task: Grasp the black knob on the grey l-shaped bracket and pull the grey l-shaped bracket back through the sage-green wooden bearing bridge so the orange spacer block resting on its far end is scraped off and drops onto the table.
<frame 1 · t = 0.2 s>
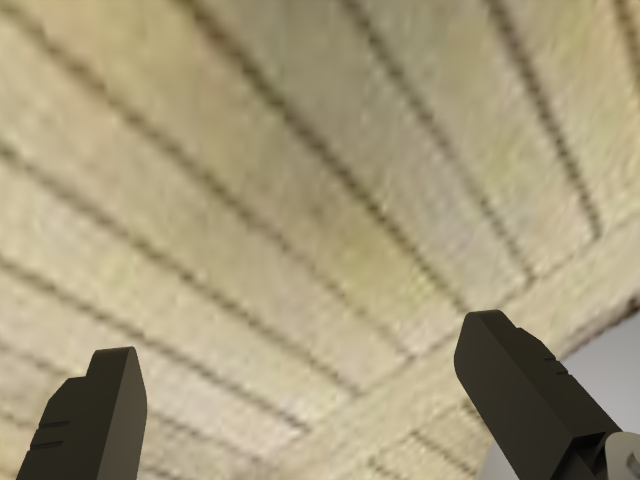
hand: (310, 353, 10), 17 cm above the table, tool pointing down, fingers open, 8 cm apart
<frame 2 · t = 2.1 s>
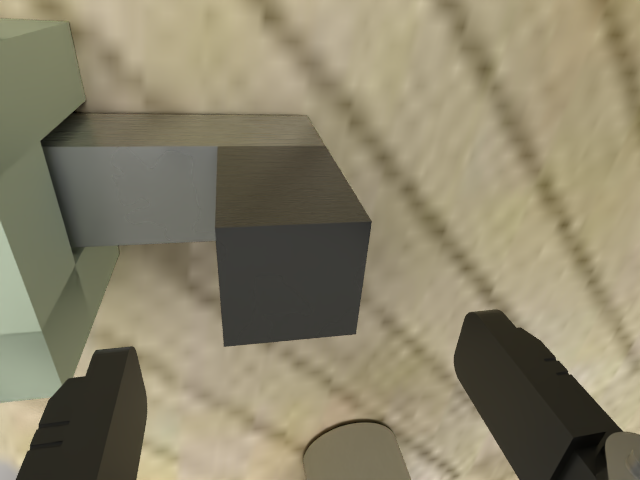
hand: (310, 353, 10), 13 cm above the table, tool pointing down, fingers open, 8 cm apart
travel mug: (348, 446, 36), on the table
grey l-shaped bracket: (7, 213, 14), point 6 cm above the table, slide at 0.0 cm, touching spacer
bearing bridge: (36, 154, 19), on the table
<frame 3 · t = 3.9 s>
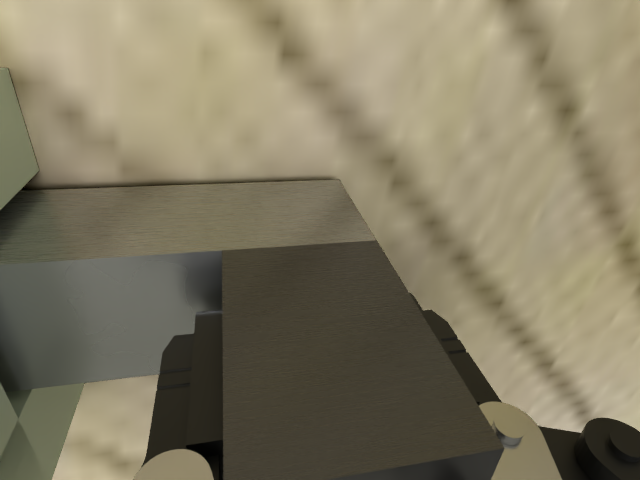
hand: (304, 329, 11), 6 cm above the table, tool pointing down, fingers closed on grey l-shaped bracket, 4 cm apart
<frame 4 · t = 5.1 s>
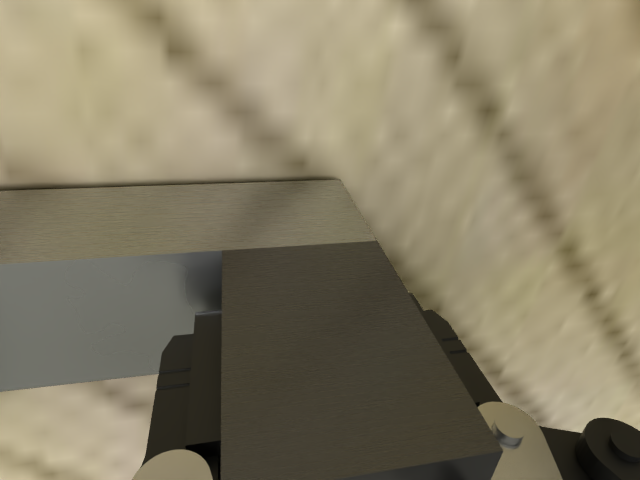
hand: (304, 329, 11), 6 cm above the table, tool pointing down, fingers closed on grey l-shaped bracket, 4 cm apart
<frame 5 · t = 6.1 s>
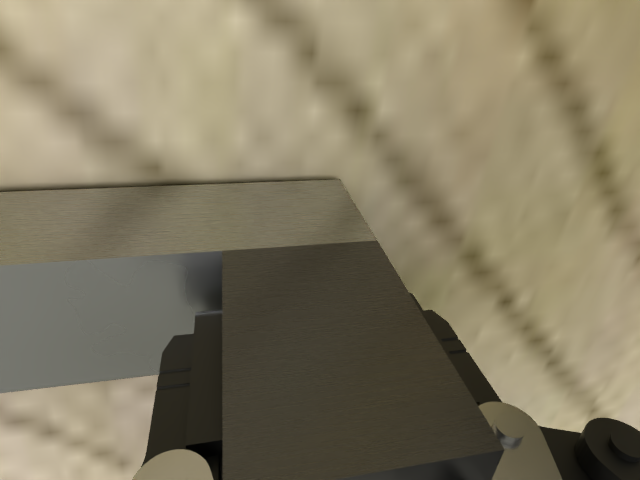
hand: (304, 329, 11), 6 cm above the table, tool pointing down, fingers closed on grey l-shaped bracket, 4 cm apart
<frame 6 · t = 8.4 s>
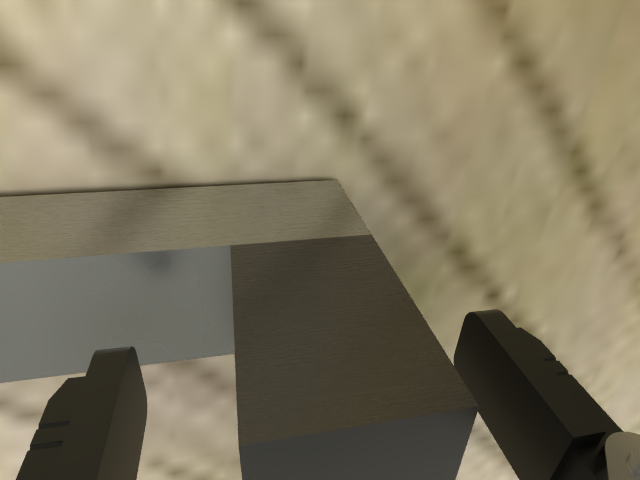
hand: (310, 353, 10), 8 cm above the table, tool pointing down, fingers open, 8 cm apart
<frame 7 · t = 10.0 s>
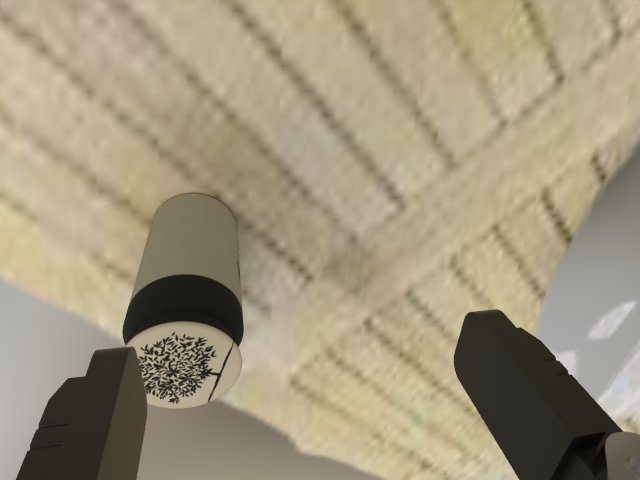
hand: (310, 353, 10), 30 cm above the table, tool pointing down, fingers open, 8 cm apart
travel mug: (195, 227, 42), on the table
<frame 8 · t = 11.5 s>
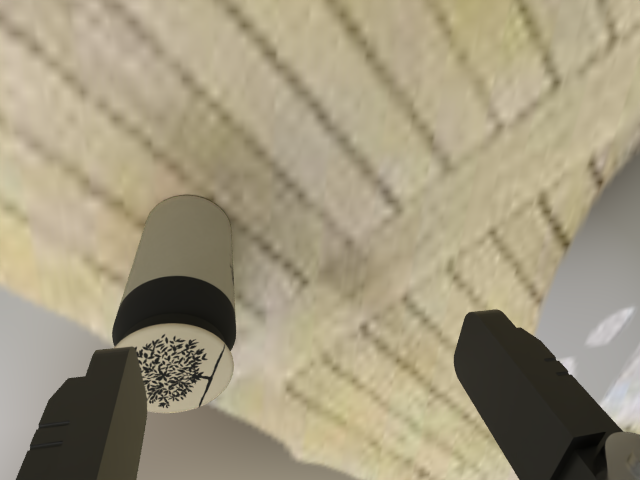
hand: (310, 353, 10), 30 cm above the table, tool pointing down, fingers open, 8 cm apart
travel mug: (189, 230, 41), on the table
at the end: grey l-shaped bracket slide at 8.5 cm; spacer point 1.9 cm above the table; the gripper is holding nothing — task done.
